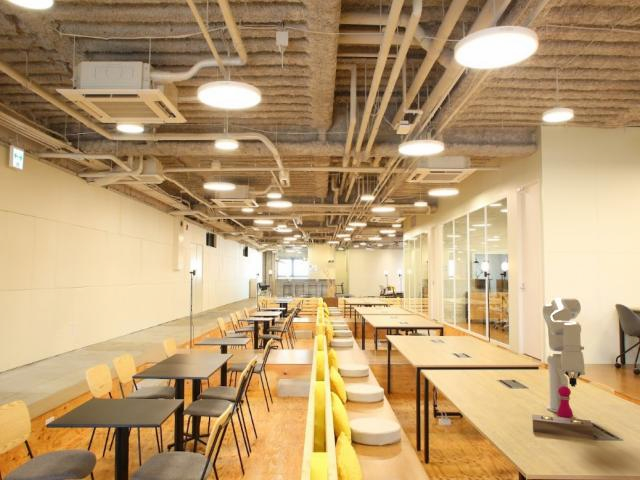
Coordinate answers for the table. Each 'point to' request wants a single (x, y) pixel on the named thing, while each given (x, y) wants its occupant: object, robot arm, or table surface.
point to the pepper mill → (564, 402)
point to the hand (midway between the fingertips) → (573, 385)
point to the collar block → (563, 427)
